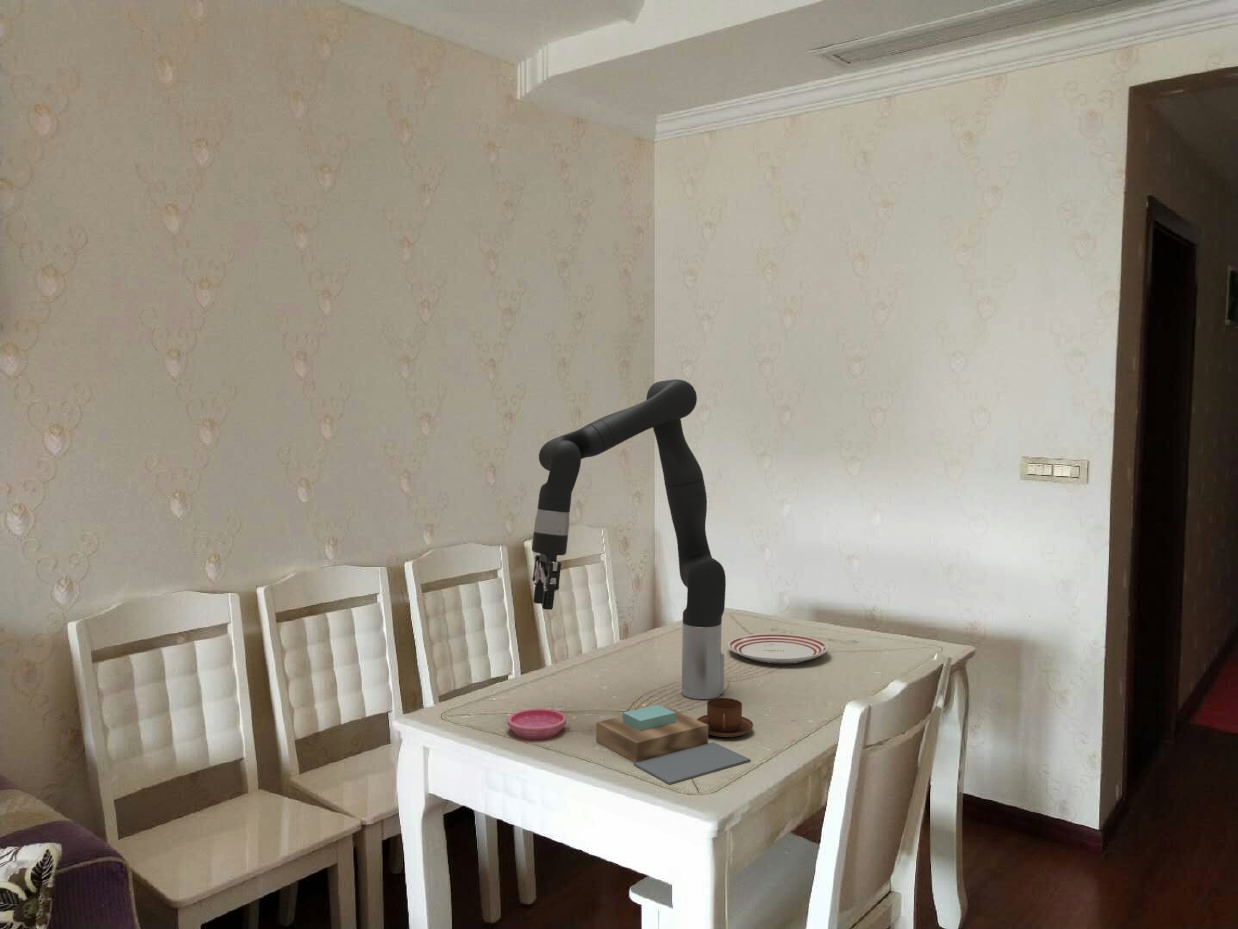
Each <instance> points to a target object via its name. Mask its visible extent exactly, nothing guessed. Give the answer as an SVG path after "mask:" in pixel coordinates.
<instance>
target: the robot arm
mask: <svg viewBox="0 0 1238 929" xmlns="http://www.w3.org/2000/svg"><path fill="white" fill-rule="evenodd" d="M697 396H698V395H697V392H696V390H695V388H694V386H693V385H692V384H691V383H690V382H688V381H687V380H684V379H678V378H677V379H676V378H675V379H669V380H668V379H666V380H661V381H656V382H654V383H652V384H651V386H650V387H649V389H648V391H647V393H646V397H645V398H646V400H644V401H642V402H640V403H637V404H636V405H633V406H630V407H628V408H627V407H626V408H625V409H621V410H619V411H616V412H613V413H610V414H607V415H605V416H603V417H601V418H599V419H596V420H594V421H592V422H591V423H589V424H586V425H584V426H582V427H581V428H579V429H577V430H574V431H571V432H569V433H565V434H563V435H560V436H558V437H557V436H556V437H554V438H553V439H550V440H548V441H547V442H546V443H544V444H543V445H542V447H541V448H540V450H539V453H538V461H539V463H540V465H541V466H542V468H544V469H545V470H546V471H548V473H549V474H548V476H547V480H546V482H545V483H544V484H542V485H541V487H540V490H539V494H538V503H537V511H536V515H535V519H534V527H533V536H532V544H531V551H532V552H533V553H535V554H536V555H535V557H534V565H533V566H534V567H533V571H532V572H533V573H532V579H531V580H532V582H533V585H534V590H533V591H534V593H533V599H532V600H533V603H534V604H539V605H541V608H542V609H543V610H550V611H551V610H553V609H554V602H555V601H554V600H555V594H556V592H557V591H559V589H560V580H561V569H562V568H561V567H562V561H558V558H557V557H558V556H565V555H566V554H567V550H568V549H567V548H568V540H569V533H570V532H569V531H570V521H571V520H570V512H571V504H572V494H573V491H574V488H575V486H576V482H577V479H578V476H579V473H580V469H581V462H582V460H583V459H586V458H593V457H596V456H598V455H601V454H603V453H604V452H606V451H608V450H611V449H612V448H614V447H616V446H618V445H620V444H621V443H625V441H627V440H629V439H631V438H634V437H635V436H638V435H639V434H642V433H644V432H645V431H647V430H650V429H653V433H654V435H655V440H656V444H657V449H658V454H659V459H660V464H661V468H662V473H663V480H664V487H665V491H666V492H665V493H666V499H667V501H668V503H667V504H668V507H669V511H670V516H671V520H672V525H673V529H674V531H675V535H676V536H675V538H676V543H677V545H676V546H677V554H678V555H677V556H678V565H679V566H678V568H679V569H678V570H679V577H680V579H681V582H682V583H683V585H684V586H685V587H686V589H687V594H686V595H687V596H686V607H685V609H684V610H683V611H682V641H681V643H682V646H681V647H682V649H681V650H682V652H681V654H682V657H681V694H682V695H683V696H684V697H686V698H688V699H694V700H711V699H715V698H719V697H720V696H721V695H722V694H724V692H725V691H724V690H725V688H724V686H725V654H724V653H722V620H723V614H724V612H725V606H726V586H727V585H726V583H727V582H726V581H727V580H726V579H727V578H726V577H727V576H726V571H725V569H724V567H723V565H722V564H721V563H720V562H719V561H718V560H716V559H715V558H713V556H712V554H711V550H710V545H709V543H708V538H707V532H706V523H707V522H706V521H707V509H708V508H707V507H708V498H707V490H706V484H705V478H704V475H703V471H702V468H701V465H700V464H699V462H698V460H697V458H696V457H695V455H694V453H693V451H692V450H691V448H690V446H689V444H688V443H687V440H686V437H685V434H684V432H683V425H682V419H684V418H686V417H688V416H689V415H690V414H692V412H693V411H694V410H695V408H696V406H697V401H698V397H697Z"/></svg>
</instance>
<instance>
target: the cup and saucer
mask: <svg viewBox="0 0 1238 929" xmlns="http://www.w3.org/2000/svg"><path fill="white" fill-rule="evenodd" d="M706 704H707V705H706V709H707V710H706V711H707V712H706V713H707V714H706V715H705V714H704V715H702V716H699V717H697V719H696V720H698V721H700V722H703V723H705V724H707V725H708V736H709V735H710V736H714V737H719V738H720V737H721V738H736V737H740V736H743V735H746V734H747V733H749V732H750V731H751V730H752V729H753V725H754V723H753V721H751V720H750V719H749V718H748V717H744V716H742V714H743V713H742V712H743V702H741V701H739V700H738V699H736V698H730V697H729V698H728V697H716V698H713V699H708V700H707V702H706Z"/></svg>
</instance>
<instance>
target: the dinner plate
mask: <svg viewBox="0 0 1238 929" xmlns="http://www.w3.org/2000/svg"><path fill="white" fill-rule="evenodd" d="M770 644H774V645H772V646H771V645H770ZM775 644H777V645H775ZM764 645H765V646H764ZM766 645H767V646H766ZM768 645H769V646H768ZM779 645H780V646H779ZM727 648H728V649H729V650H730V651H732V652H733V653H735V654H737V655H739V656H742V657H744V658H748V659H749V658H750V659H749V660H752V659H753V660H752V661H755V660H757V661H756V662H759V661H761V662H760V663H764V662H770V663H769V664H771V663H794V662H801V661H805V662H807V661H808V660H809V661H810V660H812V659H813V660H814V659H817V658H819V657H820V656H824V654H826V653H827V652H828V651H829V646H828V644H827V643H826V642H824V641H822V640H819V639H817V638H815V637H814V638H813V637H811V636H804V635H798V634H791V633H789V634H788V633H756V634H754V633H753V634H749V635H743V636H738V637H736V638H733V639H731V640H729V641H728V642H727ZM758 650H759V651H758ZM763 650H776V651H773V652H772V651H770V652H769V651H763ZM777 650H779V651H777ZM780 650H782V651H780ZM783 650H784V652H783ZM806 660H807V661H806ZM801 663H802V662H801Z"/></svg>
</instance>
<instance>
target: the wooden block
mask: <svg viewBox="0 0 1238 929" xmlns="http://www.w3.org/2000/svg"><path fill="white" fill-rule="evenodd" d="M663 707H664V708H666V709H669V710H671V711H673V712H675V713H676V722H674V723H670V724H666V725H662V726H658V727H654V728H650V729H645V730H641V731H640V730H638V729H636V728H634V727H631V726H629V725H627V724H625V723H623V715H622V716H618V717H613V718H608V719H605V720H601V721H596V722H595V724H596V726H595V729H596V730H595V734H596V735H595V736H596V738H595V742H597V743H598V744H600V745H602V746H604V747H606V748H607V749H610V750H612V751H613V752H615V753H616V754H619V755H620V756H623V758H626V759H627V760H630V761H631V762H633V763H636V762H640V761H644V760H648V759H651V758H655V757H659V756H663V755H666V754H670V753H674V752H678V751H681V750H685V749H689V748H693V747H697V746H700V745H704V744H708V743H709V734H708V725H707V724H705V723H703V722H700V721H698V720H697V719H696V718H693V717H691V716H689V715H687V714H684V713H682V712H681V711H677V710H675V709H672V708H671V707H668V706H666V705H665V706H663Z"/></svg>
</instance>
